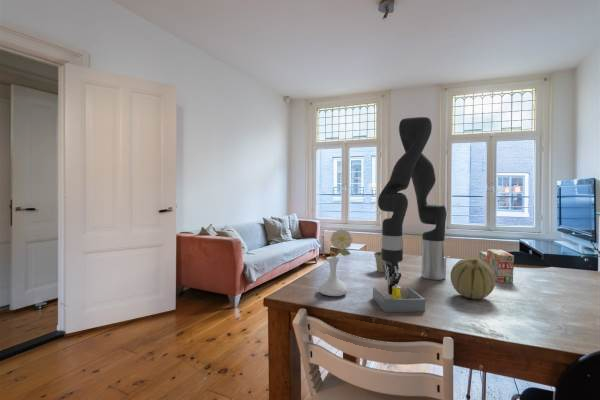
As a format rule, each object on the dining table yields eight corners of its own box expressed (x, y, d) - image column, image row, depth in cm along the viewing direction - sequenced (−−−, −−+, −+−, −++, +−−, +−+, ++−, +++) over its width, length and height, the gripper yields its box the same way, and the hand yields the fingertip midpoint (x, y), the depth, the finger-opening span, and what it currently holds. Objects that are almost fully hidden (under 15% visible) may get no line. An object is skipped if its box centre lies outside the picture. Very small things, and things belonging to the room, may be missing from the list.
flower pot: (370, 271, 149) (370, 254, 148) (377, 267, 156) (377, 250, 156) (389, 275, 143) (390, 256, 143) (396, 270, 151) (396, 253, 151)
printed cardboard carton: (478, 269, 154) (479, 245, 153) (492, 270, 152) (493, 245, 152) (497, 282, 133) (498, 254, 132) (513, 283, 131) (514, 255, 131)
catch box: (409, 297, 114) (409, 286, 114) (425, 311, 101) (425, 299, 101) (372, 298, 113) (373, 287, 113) (384, 312, 100) (384, 300, 100)
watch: (390, 301, 111) (390, 284, 111) (397, 301, 111) (397, 284, 111) (395, 306, 105) (394, 288, 105) (403, 306, 105) (403, 288, 105)
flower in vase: (313, 296, 115) (314, 229, 114) (323, 287, 125) (323, 226, 124) (348, 301, 110) (349, 231, 109) (355, 291, 120) (355, 227, 119)
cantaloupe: (474, 290, 123) (475, 252, 122) (505, 303, 108) (506, 261, 108) (441, 292, 120) (441, 253, 120) (467, 306, 106) (468, 263, 105)
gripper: (409, 251, 106) (408, 300, 107) (395, 243, 119) (395, 287, 120) (387, 251, 106) (387, 300, 106) (376, 243, 119) (376, 288, 120)
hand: (391, 293), depth 113 cm, fingers closed
